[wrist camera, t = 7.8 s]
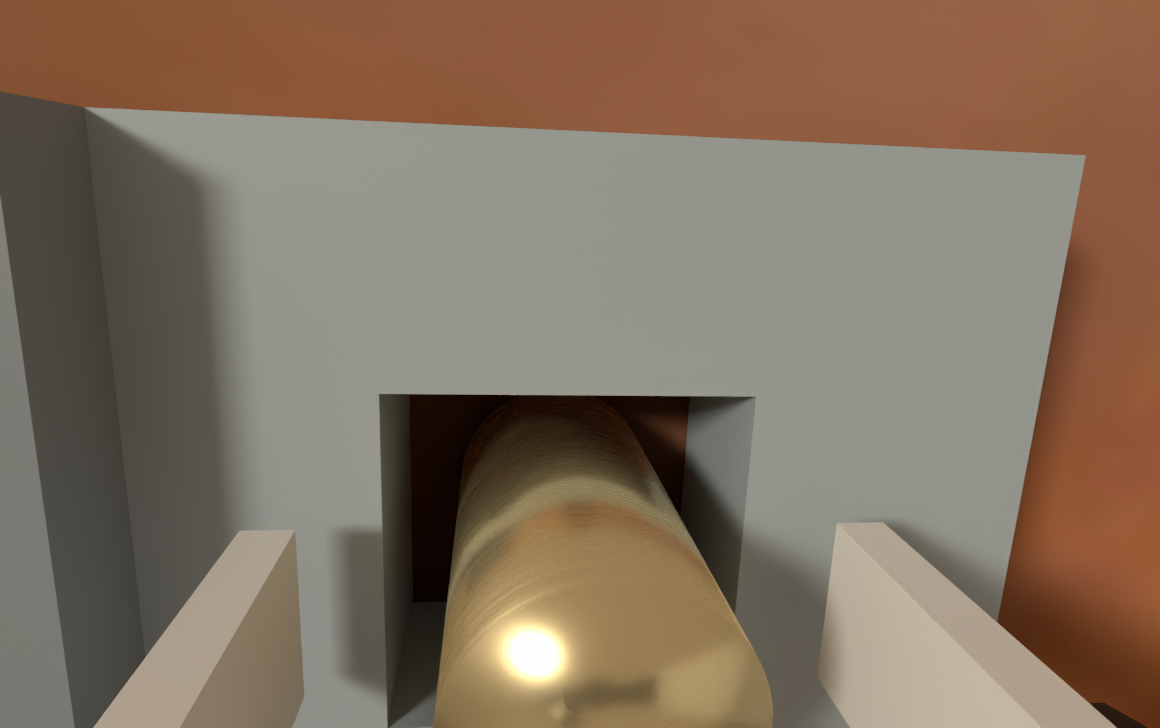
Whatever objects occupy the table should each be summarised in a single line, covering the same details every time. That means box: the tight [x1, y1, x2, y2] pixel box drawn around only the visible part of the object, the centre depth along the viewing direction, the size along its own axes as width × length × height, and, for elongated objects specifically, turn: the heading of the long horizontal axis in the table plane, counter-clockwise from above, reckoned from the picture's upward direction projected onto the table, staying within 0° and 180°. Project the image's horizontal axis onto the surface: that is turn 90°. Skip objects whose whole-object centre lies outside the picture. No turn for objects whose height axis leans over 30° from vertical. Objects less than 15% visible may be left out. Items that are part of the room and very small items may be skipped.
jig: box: [0, 92, 1086, 728], centre depth 13 cm, size 16×14×6 cm
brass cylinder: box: [433, 395, 773, 728], centre depth 12 cm, size 4×4×8 cm
